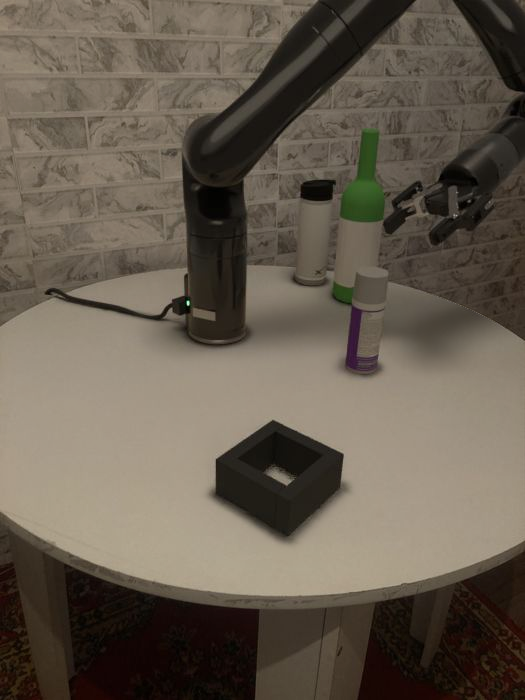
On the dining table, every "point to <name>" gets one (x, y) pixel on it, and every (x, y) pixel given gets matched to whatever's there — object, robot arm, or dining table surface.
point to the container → (366, 319)
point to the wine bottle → (359, 220)
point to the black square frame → (266, 492)
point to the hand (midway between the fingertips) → (408, 234)
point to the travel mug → (314, 231)
